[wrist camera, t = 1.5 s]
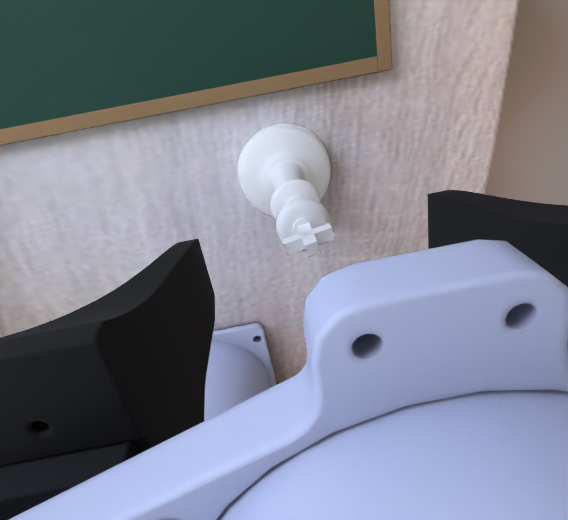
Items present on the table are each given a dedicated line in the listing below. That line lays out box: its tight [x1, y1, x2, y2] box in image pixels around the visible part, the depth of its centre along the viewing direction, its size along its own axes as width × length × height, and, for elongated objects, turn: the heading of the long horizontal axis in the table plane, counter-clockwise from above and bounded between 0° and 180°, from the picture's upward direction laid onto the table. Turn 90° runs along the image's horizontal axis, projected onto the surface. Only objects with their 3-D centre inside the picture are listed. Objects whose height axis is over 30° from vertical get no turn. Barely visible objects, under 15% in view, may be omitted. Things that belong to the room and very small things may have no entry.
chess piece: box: [238, 124, 335, 257], centre depth 18 cm, size 5×5×10 cm
